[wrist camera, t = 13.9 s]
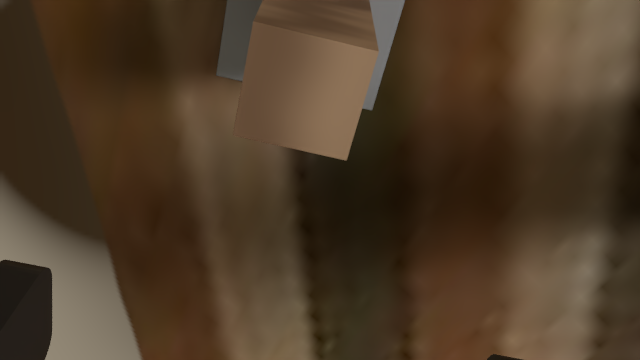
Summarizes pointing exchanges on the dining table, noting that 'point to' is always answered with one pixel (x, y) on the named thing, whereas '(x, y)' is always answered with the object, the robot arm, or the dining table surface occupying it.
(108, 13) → the dining table surface
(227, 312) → the dining table surface
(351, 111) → the walnut block
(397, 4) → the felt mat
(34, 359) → the robot arm
